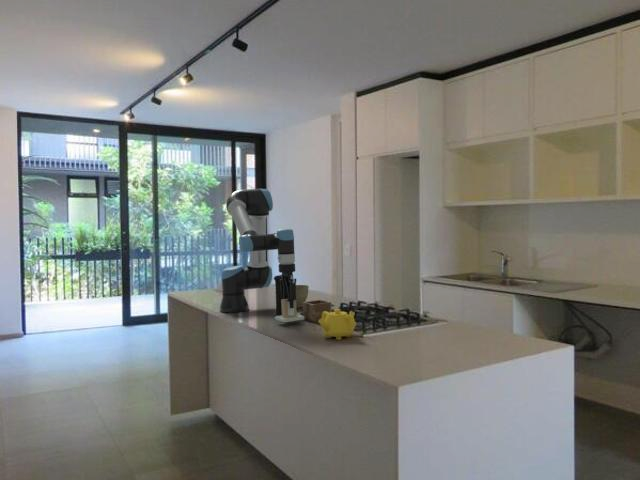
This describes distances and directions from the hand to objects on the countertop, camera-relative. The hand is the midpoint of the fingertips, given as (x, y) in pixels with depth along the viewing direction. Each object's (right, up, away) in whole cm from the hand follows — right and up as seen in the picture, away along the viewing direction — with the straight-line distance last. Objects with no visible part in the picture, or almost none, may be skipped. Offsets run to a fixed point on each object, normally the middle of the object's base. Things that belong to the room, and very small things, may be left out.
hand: (289, 314), depth 241 cm
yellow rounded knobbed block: (+21, -5, -29) cm, 37 cm away
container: (-4, -4, +23) cm, 24 cm away
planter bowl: (0, -2, +45) cm, 45 cm away
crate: (+13, -3, +8) cm, 16 cm away
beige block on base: (0, -2, 0) cm, 2 cm away
